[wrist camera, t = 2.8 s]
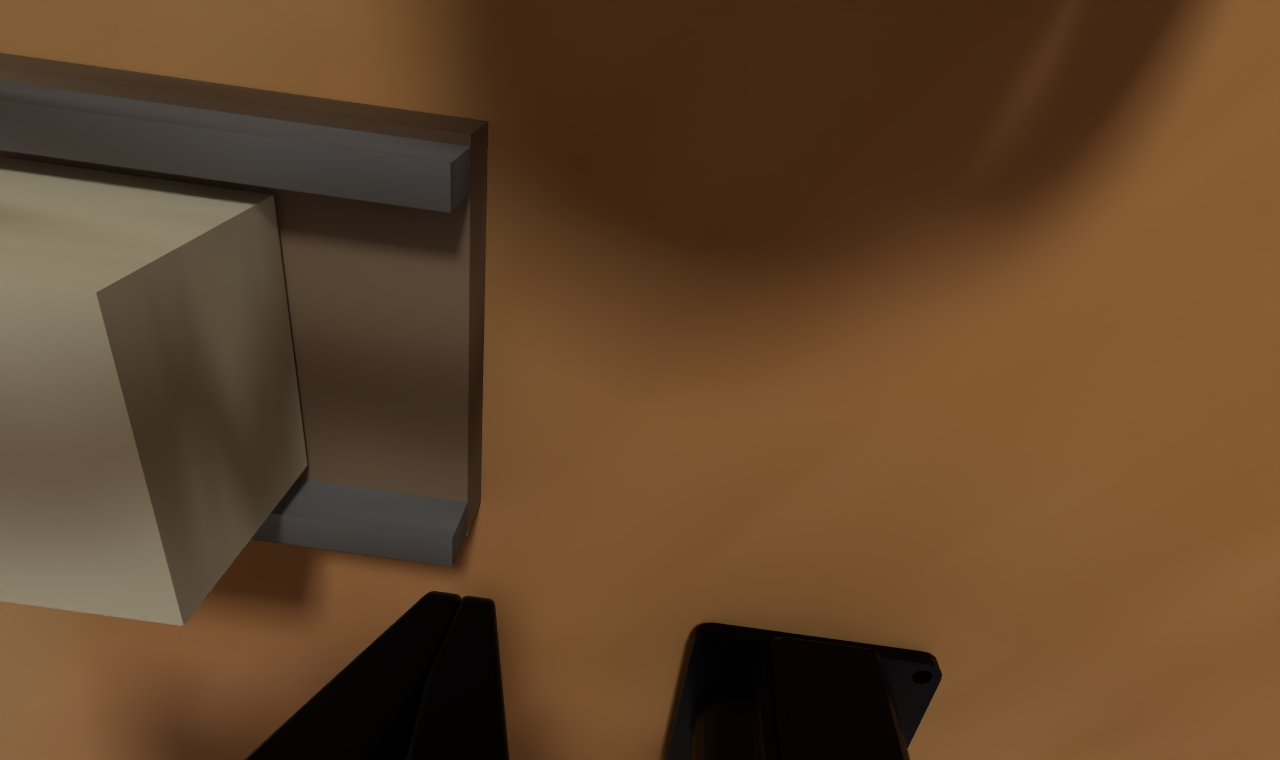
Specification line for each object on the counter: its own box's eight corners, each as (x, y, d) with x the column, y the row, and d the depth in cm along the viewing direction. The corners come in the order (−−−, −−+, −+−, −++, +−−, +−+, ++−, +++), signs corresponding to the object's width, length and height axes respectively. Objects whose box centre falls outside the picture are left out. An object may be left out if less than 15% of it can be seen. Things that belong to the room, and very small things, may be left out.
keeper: (307, 465, 16) (183, 626, 12) (79, 434, 16) (-118, 584, 12) (273, 194, 13) (96, 292, 9) (-6, 155, 13) (-303, 237, 9)
